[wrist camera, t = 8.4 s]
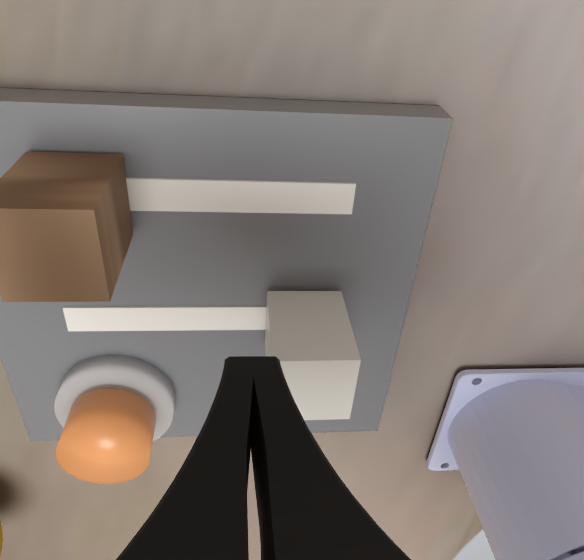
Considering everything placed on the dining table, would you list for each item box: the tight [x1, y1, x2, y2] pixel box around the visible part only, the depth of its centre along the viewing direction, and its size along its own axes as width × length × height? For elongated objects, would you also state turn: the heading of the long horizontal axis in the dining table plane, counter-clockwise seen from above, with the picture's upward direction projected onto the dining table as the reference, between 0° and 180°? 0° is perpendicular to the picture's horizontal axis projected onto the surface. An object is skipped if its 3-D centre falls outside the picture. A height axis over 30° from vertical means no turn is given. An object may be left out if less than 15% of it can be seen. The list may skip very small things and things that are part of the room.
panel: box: [0, 88, 453, 441], centre depth 21 cm, size 17×16×2 cm
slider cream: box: [265, 291, 361, 420], centre depth 19 cm, size 3×3×4 cm
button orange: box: [56, 389, 156, 484], centre depth 21 cm, size 4×4×2 cm
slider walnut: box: [0, 151, 133, 302], centre depth 16 cm, size 3×3×4 cm
